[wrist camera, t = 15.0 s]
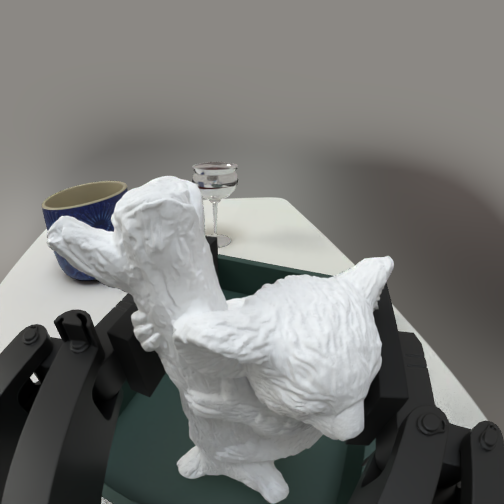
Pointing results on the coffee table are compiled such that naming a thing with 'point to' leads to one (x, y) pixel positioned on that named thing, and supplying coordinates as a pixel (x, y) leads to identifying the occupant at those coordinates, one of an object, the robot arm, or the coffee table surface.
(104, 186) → the planter
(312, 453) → the bin
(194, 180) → the wineglass
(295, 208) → the coffee table surface
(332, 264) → the coffee table surface
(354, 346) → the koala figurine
